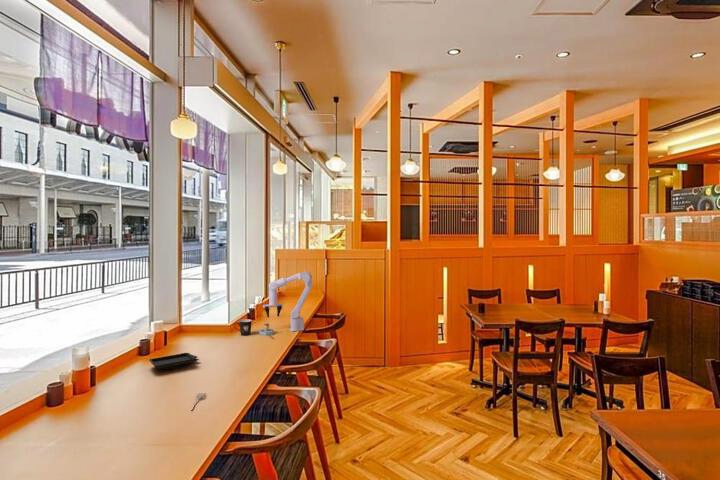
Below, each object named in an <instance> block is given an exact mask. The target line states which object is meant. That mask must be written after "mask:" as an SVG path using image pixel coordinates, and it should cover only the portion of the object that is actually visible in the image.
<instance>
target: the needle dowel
mask: <svg viewBox="0 0 720 480" xmlns="http://www.w3.org/2000/svg"><path fill="white" fill-rule="evenodd" d="M263 325H264V328H263V329H264V331H269V329H270V324H269V323H264V324H263Z"/></svg>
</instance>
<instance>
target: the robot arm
mask: <svg viewBox="0 0 720 480" xmlns="http://www.w3.org/2000/svg"><path fill="white" fill-rule="evenodd" d="M295 280H302V281H303V282H304V285H305V287H304V289H303V291H302V293H301V294H300V297H299V299H298V301H297V303H296V305H295V306H294V308H292V309H291V312H290V328H288V330H289V331H291V332H300V331H304V330H305V320H304V317H302V316H301V310H302V308H303V306H304V304H305V302H306V300H307V297H308V296H309V294H310V292H311V290H312V288H313V286H314V284H313V276H312V274H311V272H310V271H309V270H305V271H301V272H298V273H296V274H295V273H294V275H291V276H288V277H287V278H285V277H280V278H279V279H277V280H274V281H271V282H270V283H269V284H268V289H269V293H268V297H269V298H268V299H269V301H268V304H267V303H266V304H263V305H262V308H263V309H264V311H265V313H266V317H267V318H270V308H276V309H277V311H276V313H277V314H276V315H277V317H280V314H281V311H282V310H283V306H284V303H282V302H279V303H278V289H279V288H282V287H284V286H288V285H287V284H288V283H290V282H293V281H295Z"/></svg>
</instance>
